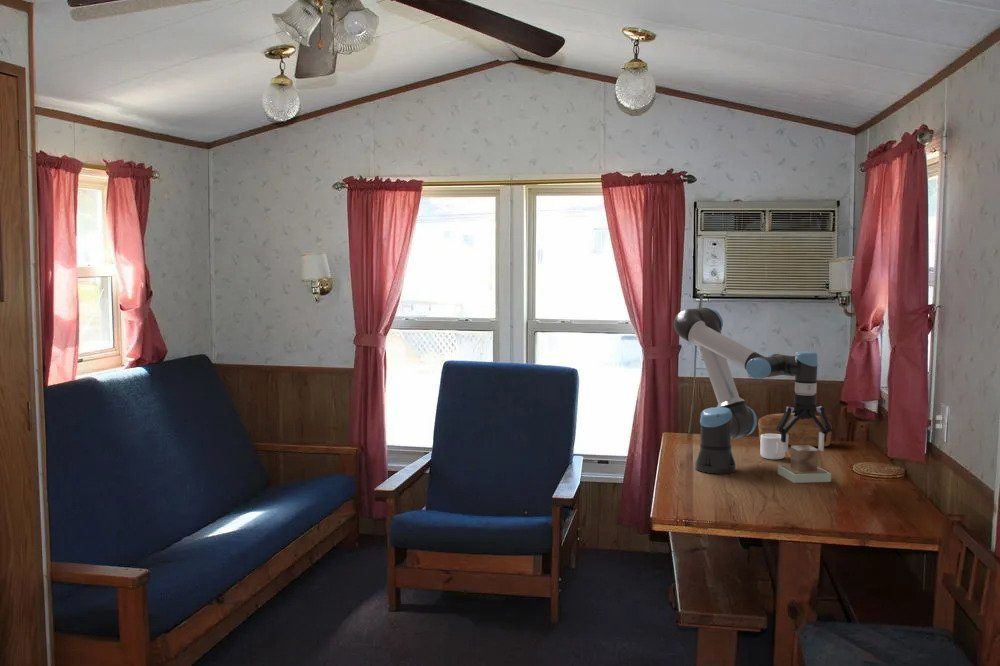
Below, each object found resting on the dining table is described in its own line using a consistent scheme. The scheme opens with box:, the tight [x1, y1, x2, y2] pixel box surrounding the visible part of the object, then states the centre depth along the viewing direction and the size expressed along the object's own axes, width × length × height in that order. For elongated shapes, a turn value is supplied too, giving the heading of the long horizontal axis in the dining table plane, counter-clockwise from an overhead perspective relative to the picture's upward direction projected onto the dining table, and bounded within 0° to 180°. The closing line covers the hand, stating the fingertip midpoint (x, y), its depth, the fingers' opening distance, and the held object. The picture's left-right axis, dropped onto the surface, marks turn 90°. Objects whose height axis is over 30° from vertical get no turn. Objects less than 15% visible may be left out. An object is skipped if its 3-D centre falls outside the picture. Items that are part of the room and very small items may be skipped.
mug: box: [759, 434, 786, 461], centre depth 346 cm, size 12×10×9 cm
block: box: [790, 445, 819, 471], centre depth 314 cm, size 7×7×8 cm
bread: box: [757, 412, 833, 447], centre depth 374 cm, size 12×31×14 cm, turn 72°
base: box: [777, 464, 832, 484], centre depth 314 cm, size 14×14×3 cm
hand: (803, 450), depth 314 cm, fingers open, 13 cm apart
